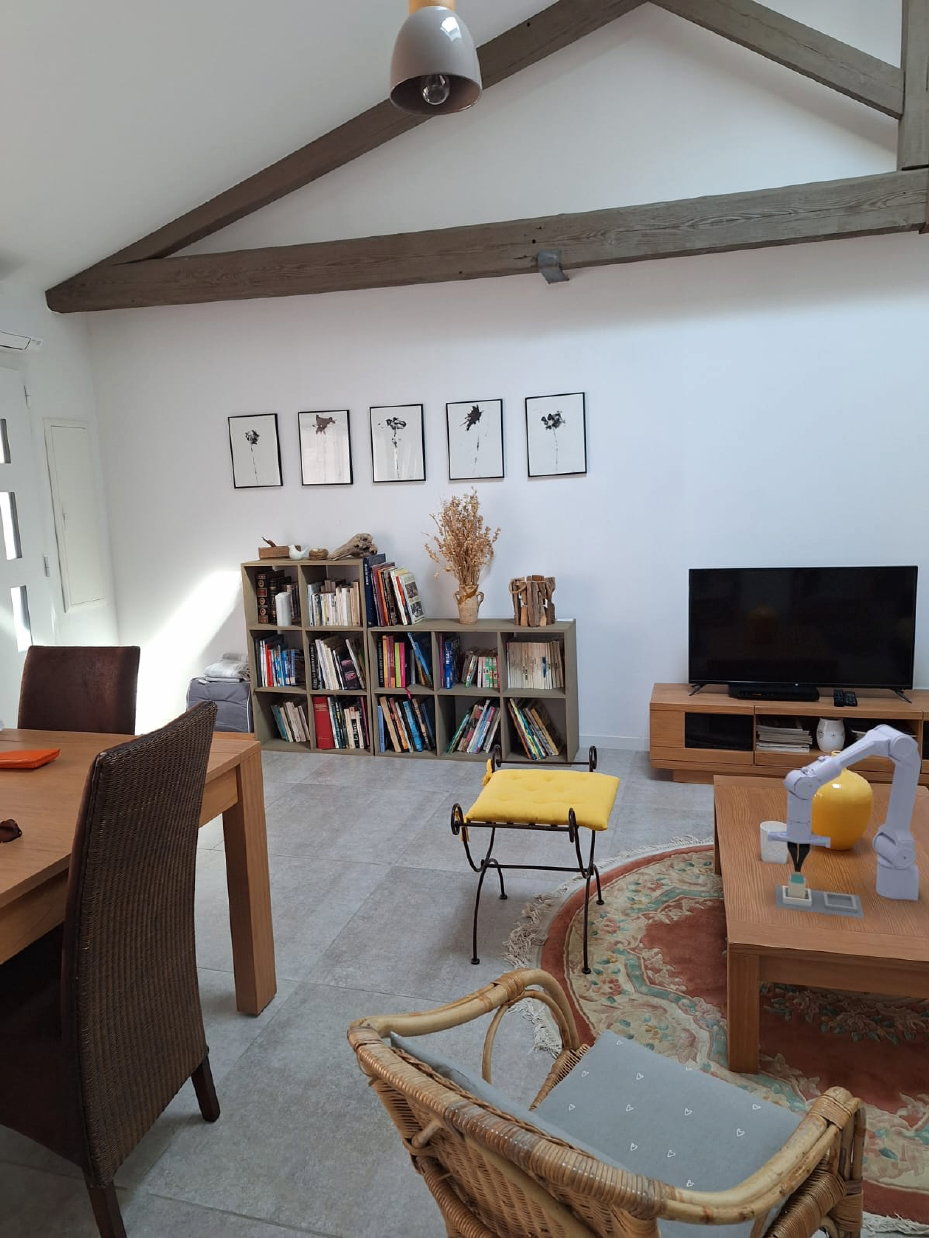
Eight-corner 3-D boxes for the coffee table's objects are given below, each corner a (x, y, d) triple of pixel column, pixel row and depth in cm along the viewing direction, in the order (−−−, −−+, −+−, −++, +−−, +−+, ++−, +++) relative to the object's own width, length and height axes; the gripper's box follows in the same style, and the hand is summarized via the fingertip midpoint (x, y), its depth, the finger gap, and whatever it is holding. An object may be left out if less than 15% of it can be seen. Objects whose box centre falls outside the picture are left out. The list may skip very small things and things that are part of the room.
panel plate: (858, 899, 214) (859, 895, 214) (864, 922, 203) (864, 918, 203) (775, 889, 221) (775, 885, 221) (775, 911, 210) (776, 907, 209)
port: (810, 894, 215) (810, 888, 215) (811, 906, 209) (811, 900, 209) (782, 891, 217) (782, 885, 217) (783, 903, 211) (783, 897, 211)
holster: (854, 899, 212) (854, 895, 212) (857, 912, 206) (857, 908, 205) (823, 895, 215) (823, 891, 214) (825, 908, 208) (825, 905, 208)
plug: (805, 896, 214) (806, 874, 213) (804, 903, 211) (805, 881, 210) (788, 893, 216) (789, 871, 215) (787, 900, 212) (788, 878, 211)
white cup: (787, 855, 240) (788, 822, 239) (790, 867, 233) (791, 833, 231) (758, 853, 242) (759, 820, 241) (760, 864, 235) (761, 830, 233)
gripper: (829, 815, 211) (827, 866, 214) (768, 810, 216) (766, 860, 218) (831, 826, 205) (829, 879, 207) (768, 820, 210) (766, 871, 212)
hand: (797, 870), depth 212 cm, fingers closed
